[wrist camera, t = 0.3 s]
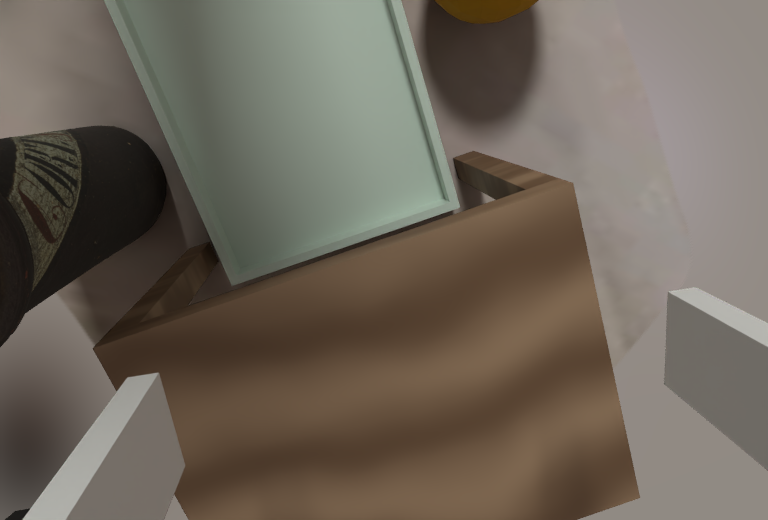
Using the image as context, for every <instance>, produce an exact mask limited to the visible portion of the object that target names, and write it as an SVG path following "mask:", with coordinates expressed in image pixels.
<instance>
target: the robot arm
mask: <svg viewBox="0 0 768 520" xmlns="http://www.w3.org/2000/svg"><path fill="white" fill-rule="evenodd" d="M666 328H667V329H666V353H665V378H664V380H665V381H664V384H665V385H666V386H667V387H668V388H669V389H671V390H672V391H673V392H674V393H675V394H677V395H678V396H679V397H680V398H681V399H683V400H684V401H685V402H686V403H687V404H689V405H690V406H691V407H692V408H693V409H695V410H696V411H697V412H698V413H699V414H701V415H702V416H703V417H704V418H705V419H706V420H708V421H709V422H710V423H711V424H713V425H714V426H715V427H716V428H717V429H718V430H720V431H721V432H722V433H723V434H724V435H726V436H727V437H728V438H729V439H730V440H732V441H733V442H734V443H735V444H736V445H738V446H739V447H740V448H741V449H742V450H744V451H745V452H746V453H747V454H748V455H750V456H751V457H752V458H753V459H754V460H756V461H757V462H758V463H759V464H760V465H762V466H763V467H764V468H765V469H766V470H767V471H768V323H766V322H764V321H762V320H760V319H758V318H756V317H754V316H752V315H750V314H748V313H746V312H744V311H742V310H740V309H738V308H736V307H734V306H732V305H730V304H728V303H726V302H724V301H722V300H720V299H718V298H716V297H714V296H712V295H710V294H708V293H706V292H704V291H702V290H700V289H698V288H696V287H694V288H688V289H681V290H675V291H669V292H668V300H667V327H666ZM184 468H185V463H184V459H183V456H182V452H181V448H180V445H179V441H178V438H177V434H176V431H175V427H174V424H173V420H172V417H171V413H170V410H169V406H168V403H167V399H166V396H165V392H164V389H163V385H162V382H161V378H160V375H159V373H153V374H146V375H140V376H134V377H127V379H126V380H125V381H124V383H123V384H122V385H121V387H120V388H119V389H118V391H117V392H116V394H115V395H114V396H113V398H112V399H111V400H110V402H109V403H108V404H107V406H106V407H105V408H104V410H103V411H102V413H101V414H100V415H99V417H98V418H97V419H96V421H95V422H94V424H93V425H92V426H91V427H90V429H89V430H88V432H87V433H86V434H85V436H84V437H83V438H82V440H81V441H80V442H79V444H78V445H77V446H76V448H75V449H74V450H73V452H72V453H71V455H70V456H69V457H68V459H67V460H66V461H65V463H64V464H63V465H62V467H61V468H60V469H59V471H58V472H57V474H56V475H55V476H54V478H53V479H52V480H51V482H50V483H49V484H48V486H47V487H46V489H45V490H44V491H43V492H42V494H41V495H40V496H39V498H38V500H37V501H36V502H35V503H34V505H33V506H32V507H31V509H25V510H19V511H15V512H14V513H12V514H11V515H10V516H9V517H8V518H6V519H5V520H164V518H165V515H166V513H167V511H168V508H169V505H170V503H171V500H172V498H173V495H174V493H175V490H176V488H177V485H178V483H179V480H180V478H181V475H182V473H183V470H184Z"/></svg>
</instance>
